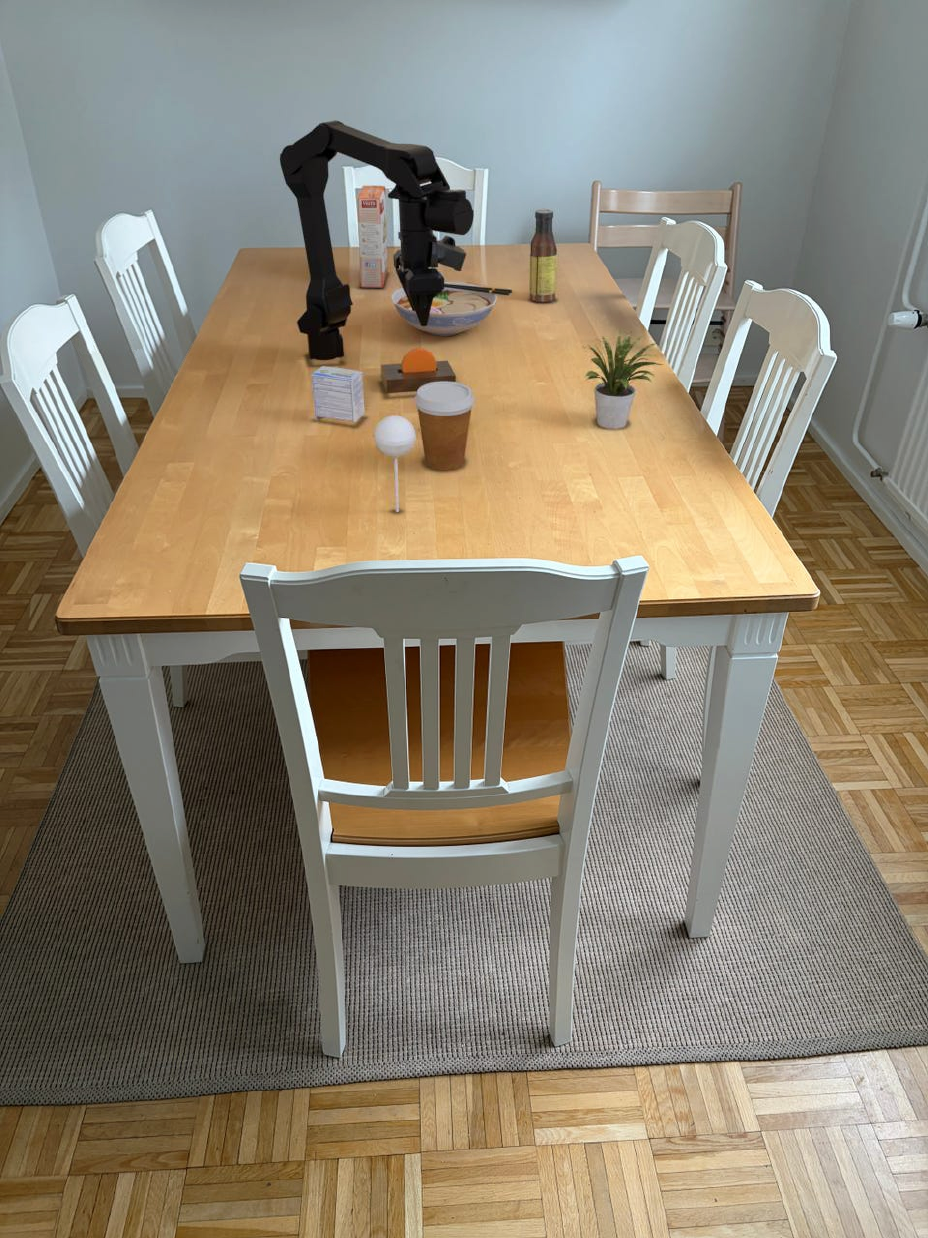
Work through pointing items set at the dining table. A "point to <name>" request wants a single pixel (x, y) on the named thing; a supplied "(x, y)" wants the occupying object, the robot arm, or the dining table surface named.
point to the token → (418, 361)
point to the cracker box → (372, 236)
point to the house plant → (617, 382)
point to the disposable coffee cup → (444, 422)
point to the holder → (414, 377)
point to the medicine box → (338, 393)
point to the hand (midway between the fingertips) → (419, 318)
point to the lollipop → (395, 441)
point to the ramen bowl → (452, 308)
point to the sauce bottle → (543, 259)
